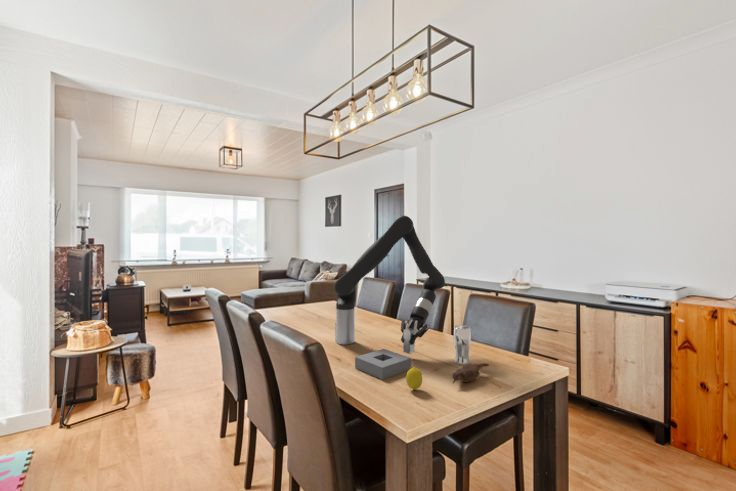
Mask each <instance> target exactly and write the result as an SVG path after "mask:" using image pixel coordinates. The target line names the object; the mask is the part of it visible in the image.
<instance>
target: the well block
mask: <svg viewBox="0 0 736 491" xmlns="http://www.w3.org/2000/svg"><path fill="white" fill-rule="evenodd" d="M354 368H355V369H357V370H359V371H361V372H364V373H366V374H369V375H370V376H372V377H375V378H377V379H380V380H381V381H383V380H386V379H388V378H390V377H393V376H396V375H399V374H401V373H404V372H408V371H409V370H410V369H411V368H412V358H411V357H409V356H406V355H403V354H400V353H397V352H394V351H391V350H388V349H386V348H382V349H379V350H375V351H370V352H368V353H364V354H361V355H358V356H357V355H356V356H354Z"/></svg>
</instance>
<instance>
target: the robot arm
mask: <svg viewBox="0 0 736 491" xmlns="http://www.w3.org/2000/svg"><path fill="white" fill-rule="evenodd" d="M413 222H414V221H413V220H412V218H410V217H409V216H407V215H400V216H398V217H396V219H395V220H394V221H393V222H392V224H391V225H390V226H389V228H388V229H387V230H386V231H385V232H384V233H383V234H382V235H381V236H380V237H379V238H378V239H377V240H375V242H373V243H372V244H371V245H370V246H369V247H368V248H367V249H366V250H365V251H364V252H363V253H362V254H361V255H360V257H358V258H357V260H356V262H355V263H354V264H353V265H352V267H351V268H349V270H348V271H346V272H345V273H344V274H343V275H342V276H340V277H339V278H338V279H337V280H336V281H335V282H334V291H335V292H336V294H337V300H336V304H335V310H336V312H335V317H336V318H335V323H334V324H335V326H334V330H335V338H334V339H335V342H336V344H338V345H343V346H345V345H352V344H354V343H355V339H356V338H355V331H356V330H355V322H356V321H355V319H356V318H355V314H356V313H355V303H356V286H357V285H358V284H359V282H360V281H361V280H362V279H363V278H364V277H365V276H367V275H368V274H370V273H371V272H372V271H373V270H375V269H376V268H377V267H378V266H379V265H380V264H381V263H382V262H383V260H384V259H385V258H387V256H388V254H389V253H390V252H391V250H392V249H393V247H394V246H395V245H396V244H397V243H398V242H400V240H401V239H403V241H405V243H406V245H407V247H408V249H409V251H410V254H411V257H412V258H413V260H414V263H415V264H416V267H417V268H418V270H419V272H420V273H421V274H425V275H426V276H428V277H426V278H425V279H424V281H423V283H422V288H421V293H420V296H419V297H418V299H417V301H416V303H415V304H414V306H413V309H412V310H411V312H410V314H409V317H408V319H407V320H404V319H402V320H401V324H400V325H401V326H400V331H401V333H402V336H401V338H400V342H401V343H402V344H403V343H404V329H406V328H411V329H414V332H413V335H412V337H411V339H410V341H409V343H410V345H412V344H414V342H415V341H416V340H417V338H422V337H423V336H424V335H425V334H426V333H427V332H428V330H429V329H430V326H428V324H426V323H427V320H428V317H429V316H430V313H431V312H432V311H431V310H432V308H433V305H434V304H435V301H436V298H437V296H436V293H435V291H438V290H440V289H443V288H444V287H445V284H446V280H445V277H444V275H443V274H442V273H441V272H440V271H439V270H438V268H437V267H436V266H435V265H434V263H433V261H432V260H431V258H430V257H429V254H428V253H427V251H426V250H425V247H424V246H423V244H422V243H421V241H420V239H419V237H418V234H417V231H416V229H415V226H414V223H413Z"/></svg>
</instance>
